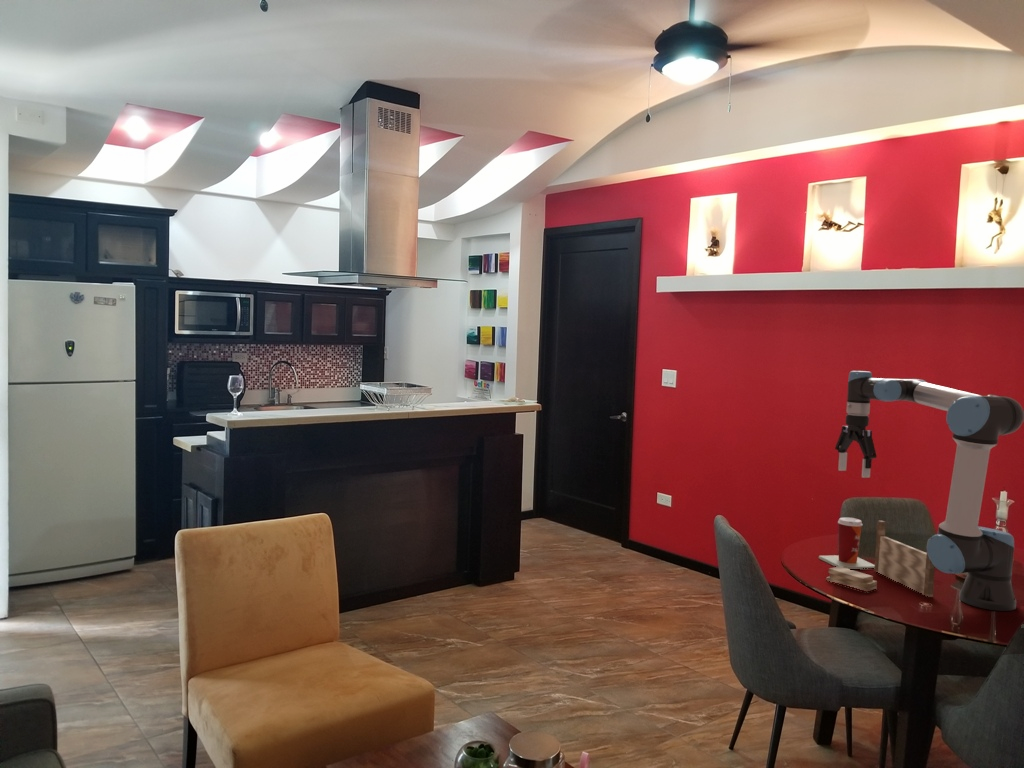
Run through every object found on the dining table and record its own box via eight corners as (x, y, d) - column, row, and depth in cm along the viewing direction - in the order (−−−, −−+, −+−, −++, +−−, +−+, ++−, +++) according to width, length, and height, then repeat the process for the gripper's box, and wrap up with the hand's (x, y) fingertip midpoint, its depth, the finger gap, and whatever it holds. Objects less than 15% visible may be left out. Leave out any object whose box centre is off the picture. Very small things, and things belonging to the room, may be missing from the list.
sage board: (877, 569, 278) (877, 566, 278) (841, 569, 275) (841, 567, 275) (853, 557, 292) (853, 555, 292) (818, 558, 289) (818, 555, 289)
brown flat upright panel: (932, 596, 249) (936, 540, 248) (927, 597, 249) (931, 540, 248) (878, 571, 275) (882, 520, 274) (874, 571, 274) (877, 520, 273)
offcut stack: (825, 581, 262) (826, 568, 262) (836, 578, 266) (837, 565, 266) (866, 594, 251) (867, 580, 250) (877, 590, 255) (878, 576, 254)
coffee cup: (861, 565, 278) (863, 523, 277) (835, 562, 281) (838, 520, 280) (859, 559, 286) (861, 518, 285) (834, 556, 289) (837, 515, 288)
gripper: (827, 410, 292) (823, 467, 293) (870, 418, 267) (866, 480, 268) (845, 411, 293) (842, 467, 294) (890, 418, 269) (886, 480, 270)
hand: (853, 474), depth 281 cm, fingers open, 13 cm apart
